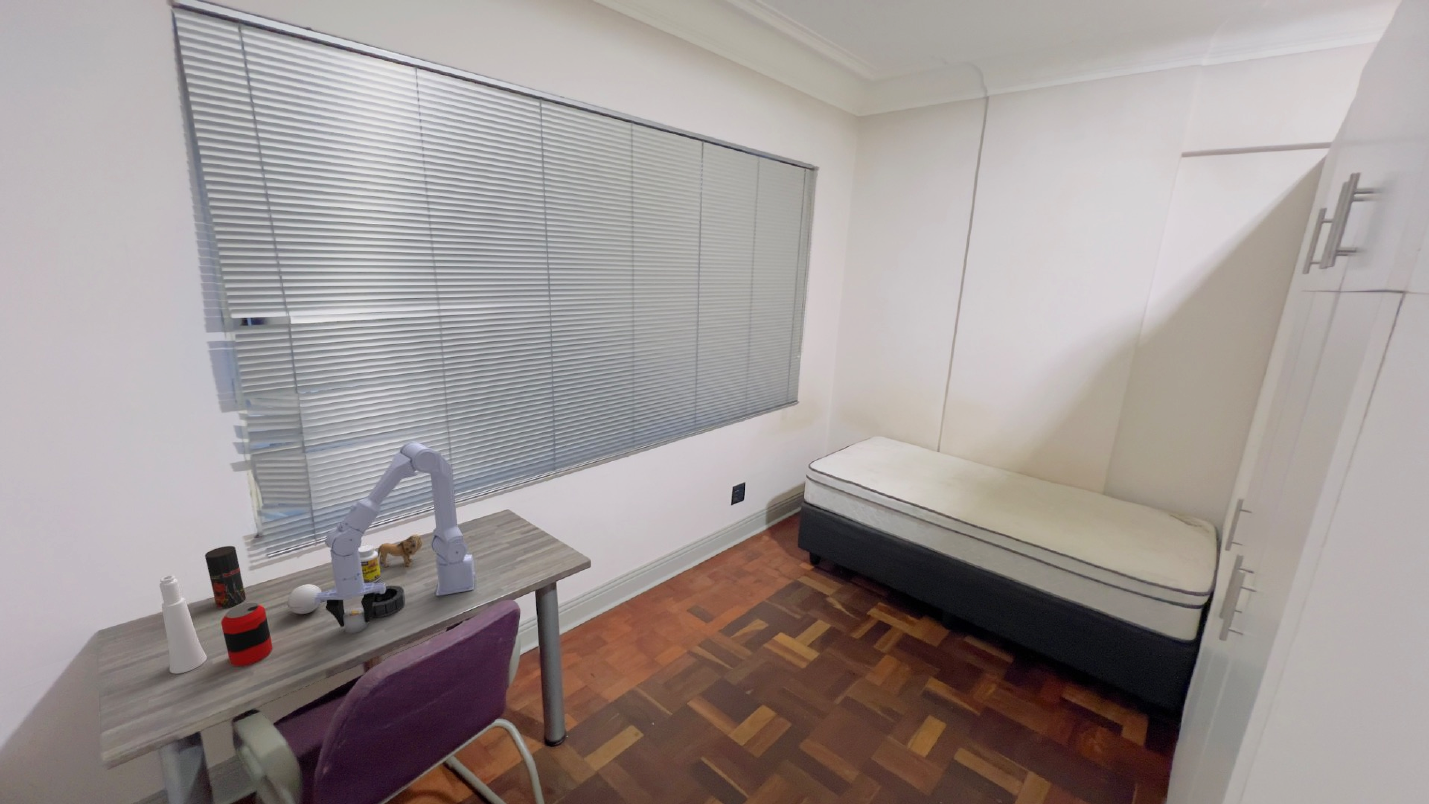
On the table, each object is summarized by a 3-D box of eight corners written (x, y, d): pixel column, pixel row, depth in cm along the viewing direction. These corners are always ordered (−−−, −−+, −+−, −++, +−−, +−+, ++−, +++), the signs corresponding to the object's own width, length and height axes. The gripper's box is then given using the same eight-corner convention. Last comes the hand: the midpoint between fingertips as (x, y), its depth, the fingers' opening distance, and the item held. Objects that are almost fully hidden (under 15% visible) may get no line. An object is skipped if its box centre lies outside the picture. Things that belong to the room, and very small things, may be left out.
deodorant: (250, 599, 145) (240, 549, 141) (223, 611, 140) (212, 559, 136) (238, 593, 147) (228, 544, 144) (211, 605, 142) (200, 554, 138)
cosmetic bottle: (198, 670, 119) (176, 582, 114) (163, 676, 117) (140, 587, 112) (212, 652, 125) (192, 568, 119) (179, 658, 123) (158, 572, 117)
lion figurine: (426, 556, 168) (423, 530, 166) (421, 565, 163) (418, 538, 161) (374, 561, 165) (371, 534, 163) (367, 570, 160) (363, 543, 158)
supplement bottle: (358, 587, 151) (353, 555, 148) (358, 578, 155) (353, 546, 153) (381, 582, 154) (377, 549, 151) (380, 573, 158) (376, 541, 156)
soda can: (265, 662, 122) (255, 616, 119) (223, 670, 119) (212, 623, 116) (278, 641, 129) (269, 597, 126) (239, 648, 126) (229, 603, 123)
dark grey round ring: (407, 594, 148) (406, 583, 147) (401, 613, 140) (399, 601, 139) (370, 600, 145) (368, 589, 144) (361, 620, 137) (359, 608, 136)
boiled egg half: (370, 619, 137) (367, 605, 136) (365, 631, 133) (363, 616, 132) (348, 623, 136) (345, 608, 135) (342, 635, 131) (340, 620, 130)
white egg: (321, 599, 145) (317, 575, 144) (327, 611, 140) (322, 587, 138) (274, 615, 138) (270, 589, 137) (278, 628, 133) (273, 602, 132)
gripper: (385, 560, 137) (392, 607, 140) (318, 570, 132) (326, 618, 135) (379, 575, 130) (386, 623, 134) (308, 585, 126) (317, 635, 129)
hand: (355, 622), depth 134 cm, fingers closed on boiled egg half, 5 cm apart
